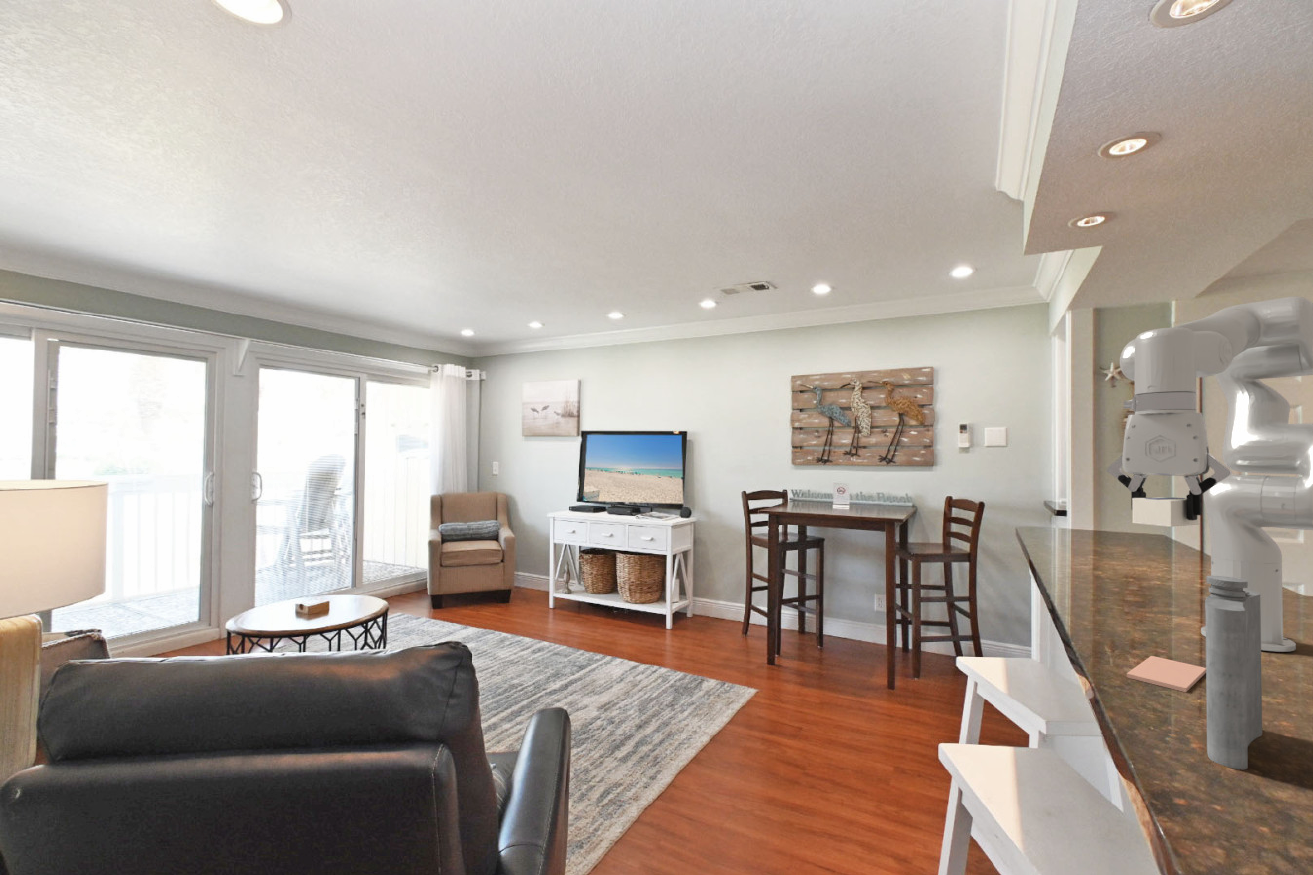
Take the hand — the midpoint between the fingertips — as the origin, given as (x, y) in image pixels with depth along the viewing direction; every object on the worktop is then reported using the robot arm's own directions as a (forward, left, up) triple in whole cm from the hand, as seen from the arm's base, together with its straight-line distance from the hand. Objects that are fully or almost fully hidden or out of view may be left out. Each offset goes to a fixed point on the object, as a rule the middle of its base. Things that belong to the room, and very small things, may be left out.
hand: (1165, 516), depth 93 cm
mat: (0, 0, -25) cm, 25 cm away
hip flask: (+23, +11, -25) cm, 36 cm away
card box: (0, 0, -1) cm, 1 cm away
